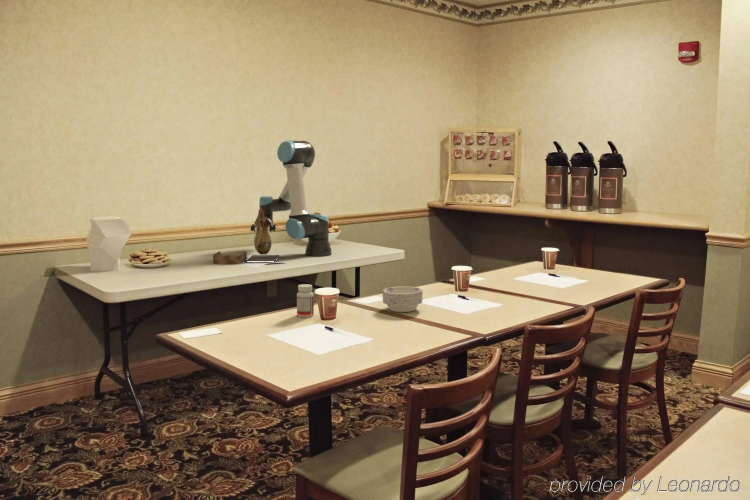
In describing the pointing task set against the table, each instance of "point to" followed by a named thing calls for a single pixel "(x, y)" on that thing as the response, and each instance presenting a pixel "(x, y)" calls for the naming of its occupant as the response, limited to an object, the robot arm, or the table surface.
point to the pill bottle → (305, 301)
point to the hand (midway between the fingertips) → (261, 230)
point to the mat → (263, 258)
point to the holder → (229, 258)
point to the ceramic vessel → (262, 235)
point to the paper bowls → (402, 298)
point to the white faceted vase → (106, 242)
